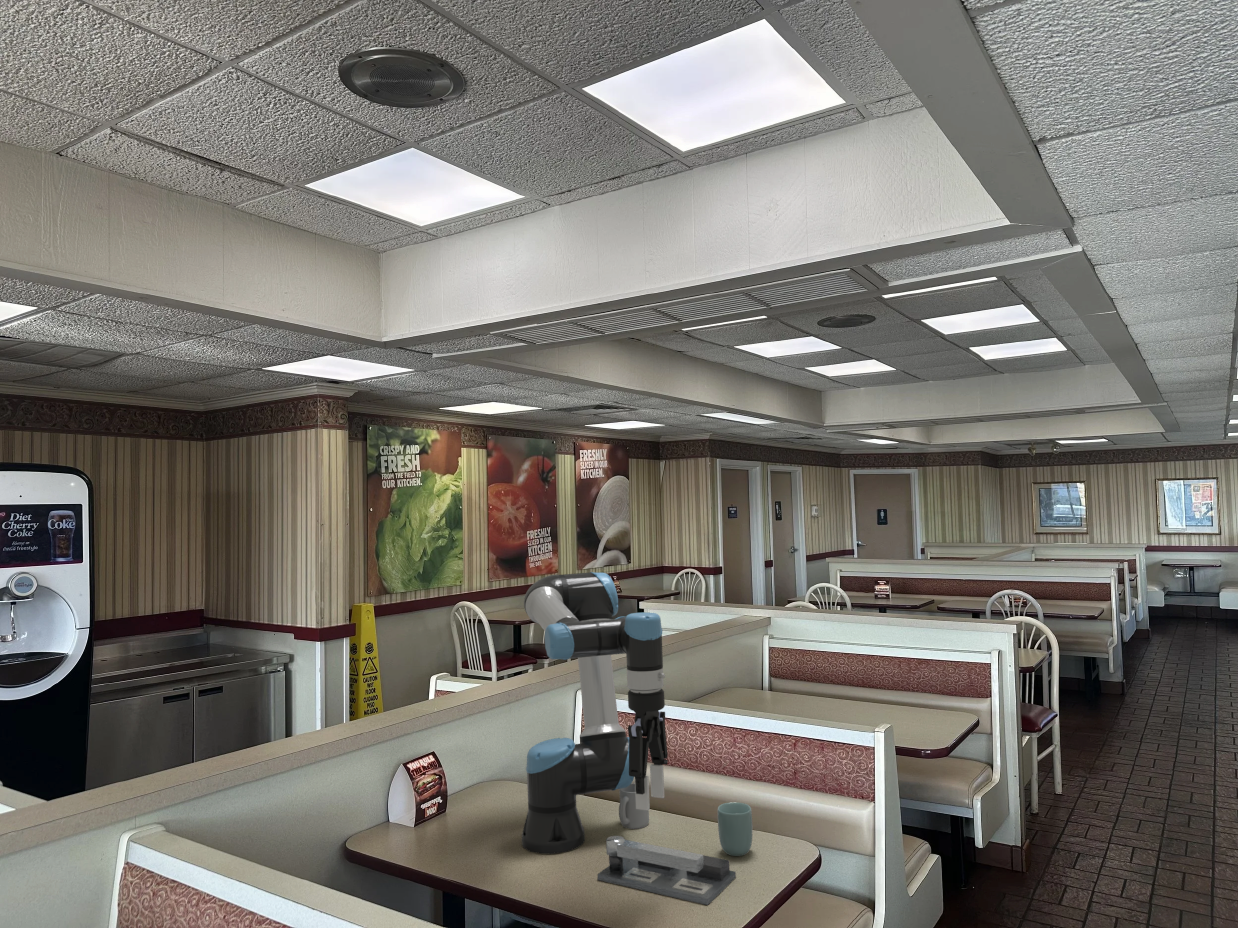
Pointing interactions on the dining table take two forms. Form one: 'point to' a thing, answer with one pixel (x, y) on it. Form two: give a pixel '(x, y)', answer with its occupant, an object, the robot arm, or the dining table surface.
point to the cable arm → (654, 854)
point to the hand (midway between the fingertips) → (650, 802)
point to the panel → (671, 878)
